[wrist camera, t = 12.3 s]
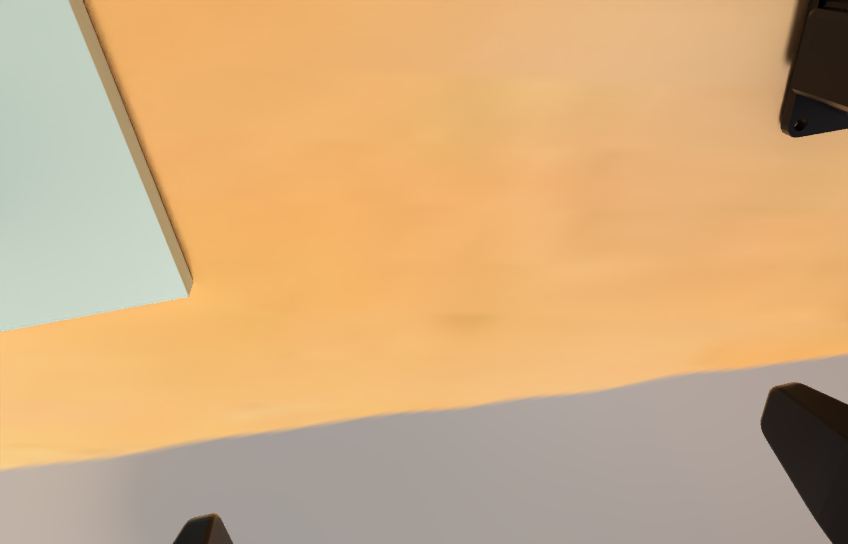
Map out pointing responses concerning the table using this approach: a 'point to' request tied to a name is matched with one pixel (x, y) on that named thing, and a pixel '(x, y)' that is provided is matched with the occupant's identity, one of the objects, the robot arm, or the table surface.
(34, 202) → the pin board
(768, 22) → the table surface
